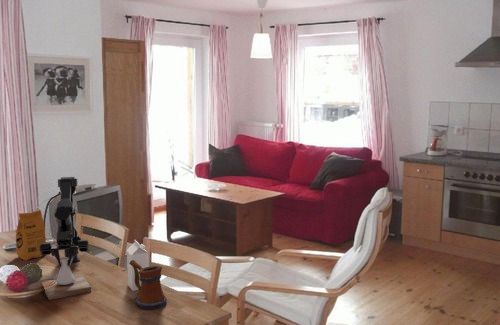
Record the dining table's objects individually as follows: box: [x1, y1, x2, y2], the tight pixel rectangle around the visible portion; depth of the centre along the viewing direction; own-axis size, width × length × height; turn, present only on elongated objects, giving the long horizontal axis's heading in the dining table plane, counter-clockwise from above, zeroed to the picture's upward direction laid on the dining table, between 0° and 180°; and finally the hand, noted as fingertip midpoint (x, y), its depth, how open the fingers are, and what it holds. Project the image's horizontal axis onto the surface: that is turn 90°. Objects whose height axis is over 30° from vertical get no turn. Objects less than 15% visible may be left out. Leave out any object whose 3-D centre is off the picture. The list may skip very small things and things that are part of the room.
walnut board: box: [44, 273, 92, 301], centre depth 213 cm, size 16×16×2 cm
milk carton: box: [126, 239, 150, 292], centre depth 213 cm, size 7×7×19 cm
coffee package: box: [15, 209, 47, 261], centre depth 250 cm, size 10×12×22 cm
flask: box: [56, 256, 76, 285], centre depth 212 cm, size 7×7×10 cm
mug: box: [129, 260, 168, 310], centre depth 200 cm, size 18×12×15 cm, turn 47°
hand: (64, 266), depth 210 cm, fingers open, 3 cm apart
